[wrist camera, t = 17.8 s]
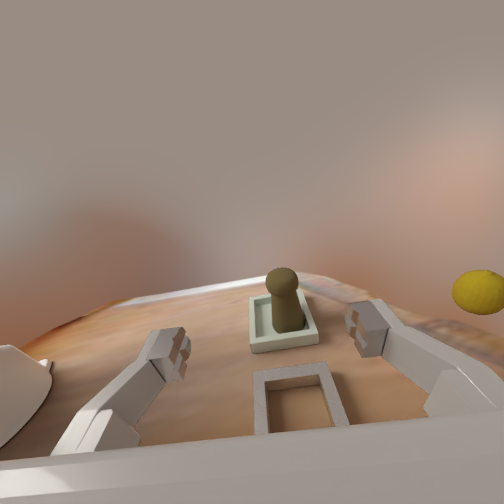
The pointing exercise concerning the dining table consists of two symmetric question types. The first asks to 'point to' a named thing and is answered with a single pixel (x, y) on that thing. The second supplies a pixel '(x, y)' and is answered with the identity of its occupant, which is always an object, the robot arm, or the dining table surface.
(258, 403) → the grey square frame
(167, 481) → the robot arm
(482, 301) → the lemon
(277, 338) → the sage tray
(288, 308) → the cork
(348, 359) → the dining table surface
